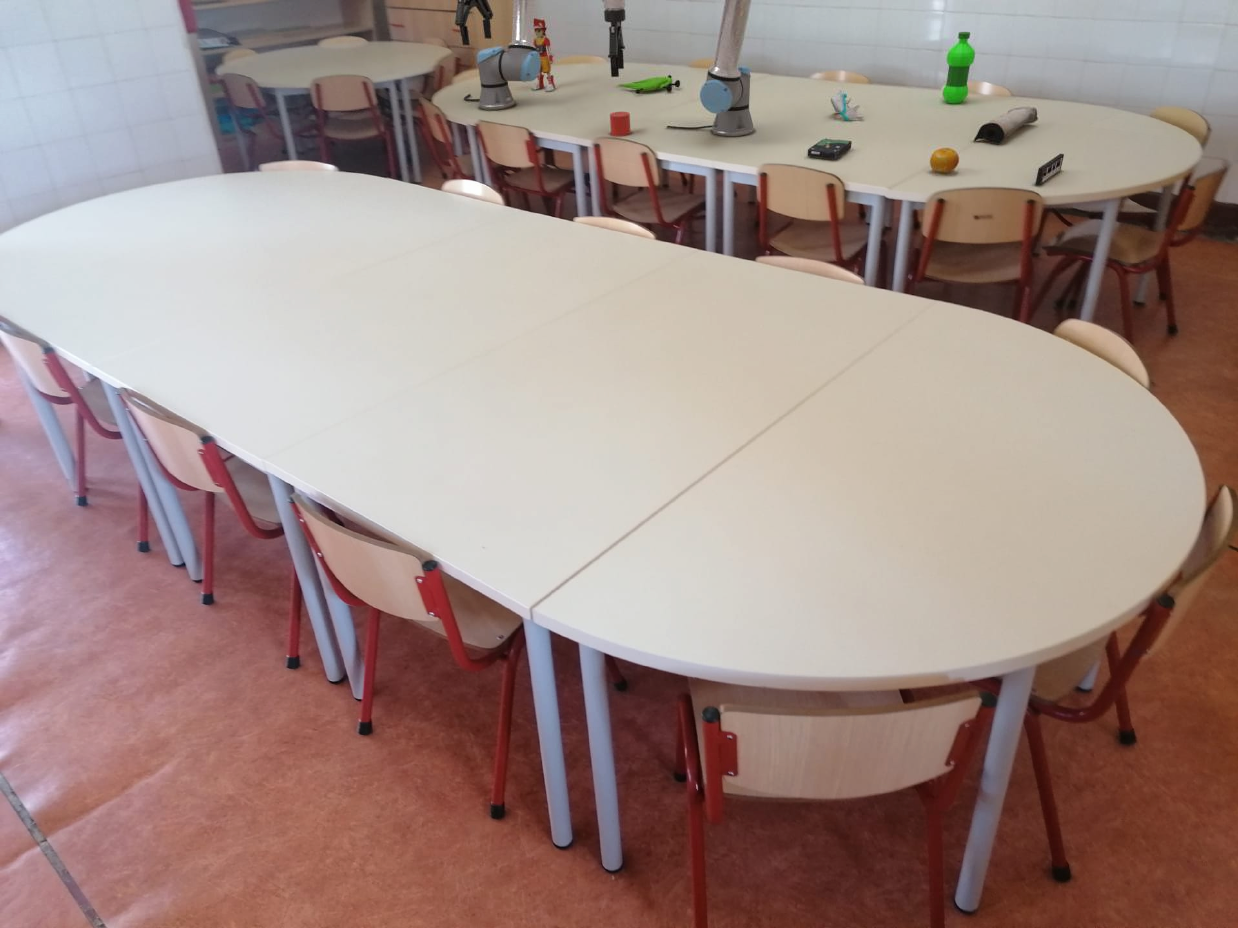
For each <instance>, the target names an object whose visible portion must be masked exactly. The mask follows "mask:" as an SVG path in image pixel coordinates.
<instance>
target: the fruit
mask: <svg viewBox="0 0 1238 928" xmlns="http://www.w3.org/2000/svg"><path fill="white" fill-rule="evenodd" d="M959 163H960V156H959V154H958V152H957V151H956V150H955V149H953V148H951V147H942V148H938V149H936V150H934V151H933V153H932V154H931V155H930V159H929V166H930V168H931V169H932V170H933V171H934V172H936V173H939V174H940V173H943V174H944V173H945V174H946V173H951V172H953V171H954V170H956V168H957V167H958V165H959Z"/></svg>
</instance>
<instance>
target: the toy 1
mask: <svg viewBox="0 0 1238 928" xmlns="http://www.w3.org/2000/svg"><path fill="white" fill-rule="evenodd" d="M547 29H548V27H547V26H546V21H545V19H539V18H535V17H534V24H533V31H534V34H535V36H536V37H535V36H534V37H533V45H534V46H535V47H536V52H538V53H539V55H540V60H541V67H540V72H539V74H538V76H537V78H536V79H537V81H538V82H537V83H534V84H533V86H532V90H539V89H543V88H545V92H550V91H554V90H555V88H556V86H555V82H554V81H555V80H554V75H551V71H552V66H551V65H553V64H554V59H553V58H554V56H555V54H554V53H553V52H552V49H551V46H552V45H551V40H550V39H549V37H548V36H547V34H546V32H547ZM545 74H546V75H547V76H546V80H547V82H548V85H546V87H545V84H544V83H545V82H544V79H545V78H544V77H545Z"/></svg>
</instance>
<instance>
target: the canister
mask: <svg viewBox="0 0 1238 928" xmlns="http://www.w3.org/2000/svg"><path fill="white" fill-rule="evenodd" d="M609 124H610V125H609V126H610V135H611V136H615V137H625V136H628V135H630V134H631V115H630V112H628V111H613V112H610V114H609Z"/></svg>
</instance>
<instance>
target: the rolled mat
mask: <svg viewBox="0 0 1238 928" xmlns="http://www.w3.org/2000/svg"><path fill="white" fill-rule="evenodd" d="M1038 120H1039V117H1038V110H1037V108H1036V107H1031V106H1021V107H1015V108H1014V107H1013V108H1011V109H1009V110H1008V111H1007V112H1006V113H1004V114H1002V115H1000V116H997V117H996V118H994V119H991V120H989V121H988V122H986V123H984V124H982V125H981V126H980V128H979V129H978V130H977V133H976V135H975V136H974V139H973V141H974V142H976V141H979V140H984V141H986V142H987V143H990V144H995V145H1001V144H1002V143H1003V142H1004V141H1005V140H1006V139H1007V138H1009V136H1010V135H1011V134H1012V133H1014V132H1015V131H1016V130H1018V129H1019V128H1020V127H1022V126H1023V125H1027V124H1034V123H1036V122H1037V121H1038Z"/></svg>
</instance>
